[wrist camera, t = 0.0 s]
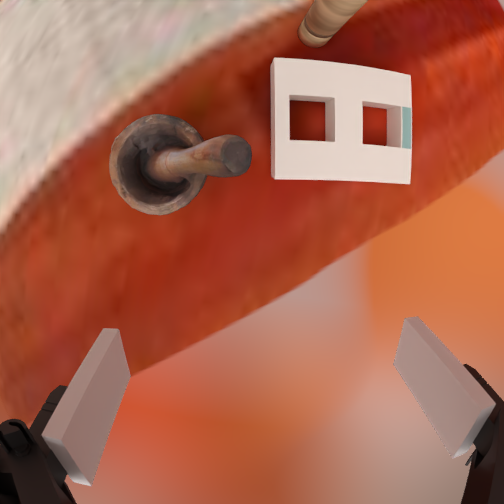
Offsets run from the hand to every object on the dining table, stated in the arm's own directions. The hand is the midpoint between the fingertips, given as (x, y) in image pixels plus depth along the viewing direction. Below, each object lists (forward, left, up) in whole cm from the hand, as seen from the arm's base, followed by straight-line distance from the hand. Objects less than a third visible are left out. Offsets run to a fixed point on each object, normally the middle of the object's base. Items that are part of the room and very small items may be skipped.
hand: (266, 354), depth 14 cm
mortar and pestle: (-8, -6, -28) cm, 30 cm away
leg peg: (-24, +9, -28) cm, 38 cm away
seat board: (-12, +12, -28) cm, 33 cm away
